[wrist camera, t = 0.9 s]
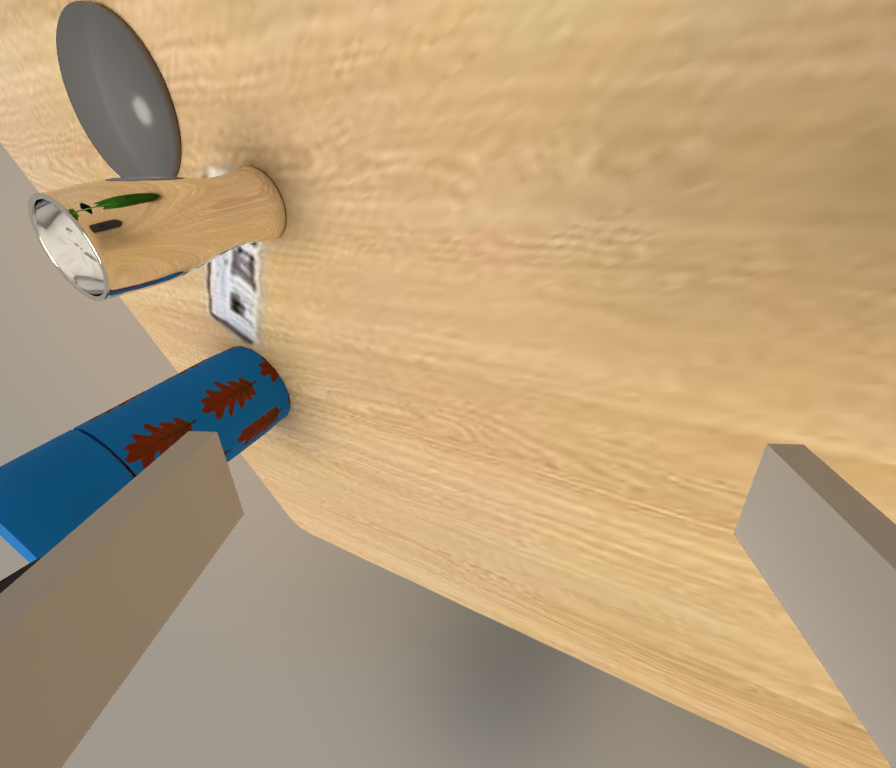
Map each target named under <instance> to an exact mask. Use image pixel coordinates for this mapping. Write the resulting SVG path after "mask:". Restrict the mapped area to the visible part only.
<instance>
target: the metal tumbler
mask: <svg viewBox="0 0 896 768" xmlns="http://www.w3.org/2000/svg"><path fill="white" fill-rule="evenodd" d="M28 207H29V214H30V219H31V222H32V225H33V228H34V230H35V233H36V235H37V237H38V239H39V241H40V243H41V245H42V247H43V248H44V250H45V252H46V253H47V255H48V257H49V258H50V260H51V261H52V262H53V264H54V265H55V267H56V268H57V269H58V270H59V272H60V273H61V274H62V275H63V276H64V277H65V279H66V280H67V281H68V282H69V283H70V284H71V285H72V286H73V287H74V288H76V289H77V290H78V291H79V292H80V293H82V294H83V295H85V296H86V297H88V298H90V299H92V300H95V301H103V300H105V299H108V298H112V297H116V296H120V295H124V294H128V293H132V292H136V291H140V290H144V289H147V288H151V287H154V286H157V285H160V284H164V283H166V282H169V281H172V280H174V279H177V278H179V277H182V276H184V275H186V274H188V273H190V272H192V271H194V270H196V269H198V268H200V267H201V266H203V265H205V264H207V263H208V262H210V261H212V260H214V259H215V258H217V257H219V256H220V255H222V254H224V253H225V252H227V251H229V250H231V249H233V248H235V247H238V246H240V245H244V244H247V243H253V242H265V241H272V240H275V239H277V238H278V237H279V236H280V235H281V234H282V232H283V230H284V227H285V220H286V216H285V208H284V204H283V201H282V198H281V196H280V193H279V191H278V190H277V188H276V186H275V185H274V183H273V182H272V181H271V179H270V178H269V177H268V176H267V175H266V174H265V173H263V172H262V171H261V170H259V169H257V168H255V167H251V166H244V167H240V168H237V169H235V170H233V171H230V172H228V173H226V174H223V175H220V176H216V177H211V178H206V177H205V178H180V177H157V176H134V177H121V178H112V179H105V180H99V181H93V182H87V183H83V184H78V185H74V186H69V187H65V188H61V189H57V190H52V191H48V192H43V193H35V194H33V195H32V196H31V197H30V200H29V204H28Z"/></svg>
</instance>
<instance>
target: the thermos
mask: <svg viewBox="0 0 896 768" xmlns="http://www.w3.org/2000/svg"><path fill="white" fill-rule="evenodd" d="M289 408H290V402H289V395H288V392H287V390H286V388H285V385H284V383H283V381H282V380H281V378H280V377H279V375H278V374H277V372H276V371H275V369H274V368H273V367H272V366H271V365H270V364H269V363H268V362H267V361H266V360H265V359H264V358H263V357H261V356H260V355H259V354H257V353H256V352H254V351H253V350H251V349H247V348H244V347H241V346H240V347H233V348H230V349H228V350H226V351H224V352H221V353H219V354H217V355H215V356H212V357H210V358H208V359H206V360H204V361H202V362H200V363H198V364H196V365H194V366H192V367H190V368H188V369H186V370H184V371H182V372H181V373H179V374H177V375H175V376H173V377H171V378H169V379H167V380H165V381H163V382H161V383H159V384H158V385H156V386H154V387H152V388H150V389H148V390H146V391H144V392H142V393H141V394H138V395H137V396H135V397H133V398H131V399H129V400H127V401H125V402H123V403H121V404H119V405H118V406H116V407H114V408H112V409H110V410H108V411H106V412H104V413H102V414H100V415H98V416H96V417H95V418H93V419H91V420H89V421H87V422H85V423H83V424H81V425H79V426H77V427H75V428H74V430H70V431H68V432H66V433H64V434H62V435H60V436H58V437H56V438H55V439H52V440H51V441H49V442H47V443H45V444H43V445H41V446H39V447H37V448H35V449H33V450H31V451H29V452H27V453H26V454H24V455H22V456H20V457H18V458H16V459H14V460H12V461H10V462H8V463H6V464H5V465H3V466H1V467H0V535H1V536H2V537H3V538H4V539H5V540H6V541H7V542H8V543H9V544H10V545H11V546H12V547H13V548H14V549H15V550H17V551H18V552H19V553H20V554H21V555H22V556H23V557H24V558H25V559H26V560H27V561H29V562H30V563H31V562H33V561H34V560H36V559H38V558H42V557H43V556H44V555H46V554H47V553H48V552H49V551H50V550H51V549H53V548H54V547H55V546H56V545H57V544H58V543H60V542H61V541H62V540H63V539H64V538H65V537H67V536H68V535H69V534H70V533H71V532H72V531H73V530H75V529H76V528H77V527H78V526H79V525H80V524H82V523H83V522H84V521H85V520H86V519H87V518H89V517H90V516H91V515H92V514H93V513H94V512H96V511H97V510H98V509H99V508H100V507H101V506H103V505H104V504H105V503H106V502H107V501H108V500H109V499H111V498H112V497H113V496H114V495H115V494H116V493H118V492H119V491H120V490H121V489H122V488H123V487H125V486H126V485H127V484H128V483H129V482H130V481H132V480H133V479H134V478H135V477H136V476H137V475H139V474H140V473H141V472H142V471H143V470H144V469H145V468H147V467H148V466H149V465H150V464H151V463H152V462H154V461H155V460H156V459H157V458H158V457H159V456H161V455H162V454H163V453H164V452H165V451H166V450H168V449H169V448H170V447H171V446H172V445H173V444H174V443H176V442H177V441H178V440H179V439H180V438H181V437H183V436H184V435H185V434H186V433H187V432H188V431H204V432H217V433H218V436H219V439H220V442H221V445H222V448H223V451H224V454H225V457H226V460H227V462H228V461H230V460H231V459H232V458H234V457H235V456H236V455H238V454H239V453H240V452H242V451H243V450H244V449H246V448H247V447H248V446H250V445H251V444H252V443H253V442H255V441H256V440H257V439H259V438H260V437H261V436H263V435H264V434H265V433H266V432H268V431H269V430H270V429H271V428H272V427H273V426H275V425H276V424H277V423H278V422H279V421H280V420H282V419H283V418H284V417H285V416H286V415H287V414H288V411H289Z"/></svg>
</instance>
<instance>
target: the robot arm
mask: <svg viewBox="0 0 896 768" xmlns="http://www.w3.org/2000/svg"><path fill="white" fill-rule="evenodd" d="M243 514H244V512H243V509H242V506H241V503H240V500H239V497H238V494H237V491H236V488H235V485H234V482H233V479H232V475H231V473H230V469H229V466H228V464H227V460H226V457H225V454H224V451H223V448H222V445H221V442H220V439H219V436H218V433H217V432H204V431H188V432H187V433H186V434H185V435H184V436H183V437H181V438H180V439H179V440H178V441H177V442H176V443H174V444H173V445H172V446H171V447H170V448H169V449H168V450H166V451H165V452H164V453H163V454H162V455H161V456H159V457H158V458H157V459H156V460H155V461H154V462H152V463H151V464H150V465H149V466H148V467H147V468H145V469H144V470H143V471H142V472H141V473H140V474H139V475H137V476H136V477H135V478H134V479H133V480H132V481H130V482H129V483H128V484H127V485H126V486H125V487H123V488H122V489H121V490H120V491H119V492H118V493H116V494H115V495H114V496H113V497H112V498H111V499H109V500H108V501H107V502H106V503H105V504H104V505H103V506H101V507H100V508H99V509H98V510H97V511H96V512H94V513H93V514H92V515H91V516H90V517H89V518H87V519H86V520H85V521H84V522H83V523H82V524H80V525H79V526H78V527H77V528H76V529H75V530H73V531H72V532H71V533H70V534H69V535H68V536H67V537H65V538H64V539H63V540H62V541H61V542H60V543H58V544H57V545H56V546H55V547H54V548H53V549H51V550H50V551H49V552H48V553H47V554H46V555H44V556H43V557H42V558H38V559H36V560H34V561H33V562H31V563H29V564H28V565H26V566H25V567H23V568H21V569H20V570H18V571H16V572H15V573H13V574H11V575H10V576H8V577H6V578H5V579H3V580H1V581H0V768H61V767H62V766H63V765H64V764H65V762H66V761H67V759H68V758H69V756H70V755H71V754H72V752H73V751H74V750H75V748H76V747H77V745H78V744H79V743H80V741H81V740H82V739H83V737H84V736H85V734H86V733H87V732H88V730H89V729H90V727H91V726H92V725H93V723H94V722H95V720H96V719H97V718H98V716H99V715H100V713H101V712H102V711H103V709H104V708H105V707H106V705H107V704H108V702H109V701H110V700H111V698H112V697H113V695H114V694H115V693H116V691H117V690H118V688H119V687H120V686H121V684H122V683H123V681H124V680H125V679H126V677H127V676H128V675H129V673H130V672H131V670H132V669H133V668H134V666H135V665H136V663H137V662H138V660H139V659H140V658H141V656H142V655H143V654H144V652H145V651H146V649H147V648H148V647H149V645H150V644H151V642H152V641H153V640H154V638H155V637H156V635H157V634H158V633H159V631H160V630H161V628H162V627H163V626H164V624H165V623H166V622H167V620H168V619H169V617H170V616H171V615H172V613H173V612H174V610H175V609H176V608H177V606H178V605H179V603H180V602H181V601H182V599H183V598H184V597H185V595H186V594H187V592H188V591H189V590H190V588H191V587H192V585H193V584H194V583H195V581H196V580H197V579H198V577H199V576H200V574H201V573H202V571H203V570H204V569H205V567H206V566H207V565H208V563H209V562H210V560H211V559H212V558H213V556H214V555H215V553H216V552H217V551H218V549H219V548H220V546H221V545H222V544H223V542H224V541H225V540H226V538H227V537H228V535H229V534H230V532H231V531H232V530H233V528H234V527H235V526H236V524H237V523H238V521H239V520H240V519H241V517H242V516H243ZM734 535H735V536H736V538H737V539H738V541H739V542H740V544H741V545H742V547H743V548H744V550H745V551H746V553H747V554H748V556H749V557H750V558H751V560H752V561H753V563H754V564H755V566H756V567H757V569H758V570H759V572H760V573H761V575H762V576H763V578H764V579H765V581H766V582H767V584H768V585H769V587H770V588H771V590H772V591H773V593H774V594H775V595H776V597H777V598H778V600H779V601H780V603H781V604H782V606H783V607H784V609H785V610H786V612H787V613H788V615H789V616H790V618H791V619H792V621H793V622H794V624H795V625H796V627H797V628H798V630H799V631H800V632H801V634H802V635H803V637H804V638H805V640H806V641H807V643H808V644H809V646H810V647H811V649H812V650H813V652H814V653H815V655H816V656H817V658H818V659H819V661H820V662H821V664H822V665H823V667H824V668H825V669H826V671H827V672H828V674H829V675H830V677H831V678H832V680H833V681H834V683H835V684H836V686H837V687H838V689H839V690H840V692H841V693H842V695H843V696H844V698H845V699H846V701H847V702H848V704H849V705H850V706H851V708H852V709H853V711H854V712H855V714H856V715H857V717H858V718H859V720H860V721H861V723H862V724H863V726H864V727H865V729H866V730H867V732H868V733H869V735H870V736H871V738H872V739H873V740H874V742H875V743H876V745H877V746H878V748H879V749H880V751H881V752H882V754H883V755H884V757H885V758H886V760H887V761H888V763H889V764H890V766H891V767H892V768H896V525H895V524H894V523H893V522H892V521H891V520H890V519H889V518H887V517H886V516H885V515H884V514H883V513H882V512H880V511H879V510H878V509H877V508H876V507H875V506H874V505H872V504H871V503H870V502H869V501H868V500H867V499H866V498H864V497H863V496H862V495H861V494H860V493H859V492H857V491H856V490H855V489H854V488H853V487H852V486H851V485H849V484H848V483H847V482H846V481H845V480H844V479H842V478H841V477H840V476H839V475H838V474H837V473H836V472H834V471H833V470H832V469H831V468H830V467H829V466H827V465H826V464H825V463H824V462H823V461H822V460H821V459H819V458H818V457H817V456H816V455H815V454H814V453H813V452H811V451H810V450H809V449H808V448H807V447H806V446H804V445H801V444H767V445H766V447H765V450H764V453H763V456H762V458H761V461H760V464H759V466H758V469H757V472H756V474H755V477H754V480H753V483H752V485H751V488H750V491H749V493H748V496H747V499H746V502H745V504H744V507H743V510H742V512H741V515H740V518H739V521H738V523H737V526H736V529H735V531H734Z"/></svg>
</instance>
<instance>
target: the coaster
mask: <svg viewBox="0 0 896 768" xmlns="http://www.w3.org/2000/svg"><path fill="white" fill-rule="evenodd" d="M56 44H57V54H58V61H59V66H60V71H61V74H62V78H63V82H64V85H65V88H66V91H67V94H68V96H69V99H70V101H71V104H72V106H73V109H74V111H75V113H76V115H77V117H78V119H79V121H80V123H81V125H82V127H83V129H84V130H85V132H86V134H87V136H88V137H89V139H90V140H91V142H92V144H93V145H94V147H95V148H96V149H97V151H98V152H99V154H100V155H101V156H102V157H103V159H104V160H105V161H106V162H107V164H108V165H109V166H110V167H111V168H112V169H113V170H114V171H115V172H116V173H117V174H118V175H119V176H121V177H134V176H157V177H176V176H177V173H178V171H179V166H180V160H181V141H180V132H179V127H178V122H177V118H176V114H175V110H174V107H173V104H172V101H171V98H170V95H169V92H168V90H167V87H166V85H165V82H164V80H163V78H162V76H161V74H160V72H159V70H158V68H157V66H156V64H155V62H154V61H153V59H152V57H151V55H150V54H149V52H148V51H147V49H146V48H145V46H144V45H143V43H142V42H141V40H140V39H139V38H138V36H137V35H136V34H135V32H134V31H133V30H132V29H131V28H130V27H129V26H128V25H127V24H126V23H125V22H124V21H123V20H122V19H121V18H120V17H119V16H118V15H117V14H115V13H114V12H112V11H111V10H110V9H108V8H106V7H104V6H102V5H99V4H96V3H91V2H84V1H75V2H72V3H70V4H68V5H67V6H66V7H65V8H64V9H63V11H62V12H61V15H60V17H59V20H58V25H57V33H56Z"/></svg>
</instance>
